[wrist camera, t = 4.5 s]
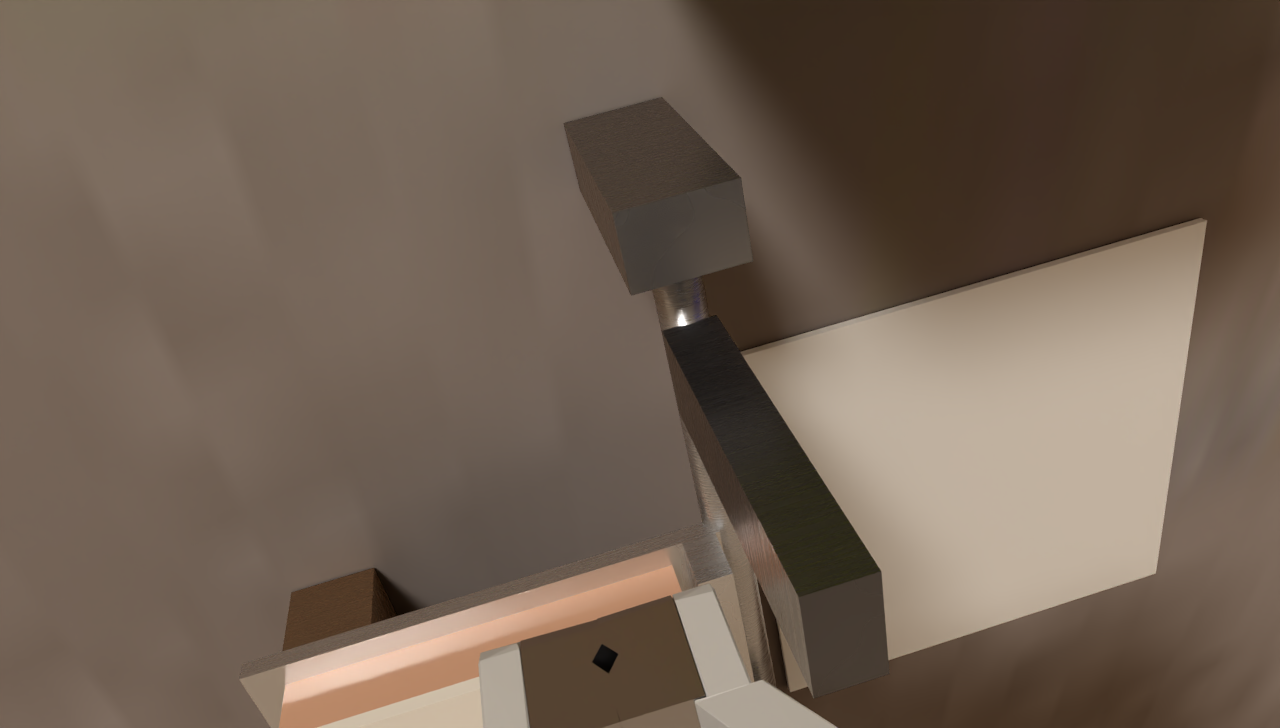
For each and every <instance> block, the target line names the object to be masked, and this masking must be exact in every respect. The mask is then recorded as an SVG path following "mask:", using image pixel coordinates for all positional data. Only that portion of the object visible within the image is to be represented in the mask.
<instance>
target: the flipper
mask: <svg viewBox="0 0 1280 728" xmlns="http://www.w3.org/2000/svg"><path fill="white" fill-rule="evenodd" d="M653 295H654V299H655V304H656V309H657V313H658V318H659V323H660V327H661V332H662V336H663V341H664V346H665V350H666V355H667V360H668V364H669V369H670V374H671V378H672V383H673V388H674V392H675V397H676V402H677V406H678V411H679V416H680V420H681V425H682V430H683V434H684V439H685V444H686V448H687V453H688V458H689V462H690V467H691V472H692V476H693V481H694V486H695V490H696V495H697V499H698V504H699V509H700V513H701V518H702V523H700V524H696V525H693V526H690V527H687V528H683V529H680V530H677V531H674V532H670V533H667V534H664V535H661V536H657V537H654V538H651V539H647V540H644V541H641V542H638V543H634V544H631V545H628V546H625V547H621V548H618V549H615V550H612V551H608V552H605V553H602V554H599V555H595V556H592V557H589V558H585V559H582V560H579V561H576V562H572V563H569V564H566V565H563V566H559V567H556V568H553V569H550V570H546V571H543V572H540V573H536V574H533V575H530V576H527V577H523V578H520V579H517V580H514V581H510V582H507V583H504V584H501V585H497V586H494V587H491V588H488V589H484V590H481V591H478V592H474V593H471V594H468V595H465V596H461V597H458V598H455V599H452V600H448V601H445V602H442V603H439V604H435V605H432V606H429V607H426V608H422V609H419V610H416V611H412V612H409V613H406V614H403V615H399V616H396V617H393V618H390V619H386V620H383V621H380V622H377V623H373V624H370V625H367V626H364V627H360V628H357V629H354V630H350V631H347V632H344V633H341V634H337V635H334V636H331V637H328V638H324V639H321V640H318V641H315V642H311V643H308V644H305V645H301V646H298V647H295V648H292V649H288V650H285V651H282V652H279V653H275V654H272V655H269V656H266V657H262V658H259V659H256V660H253V661H249V662H246V663H243V664H242V668H241V673H240V678H239V680H240V681H241V683H242V684H243V686H244V687H245V689H246V691H247V692H248V694H249V695H250V697H251V698H252V700H253V701H254V703H255V704H256V706H257V707H258V709H259V710H260V712H261V713H262V715H263V716H264V718H265V719H266V721H267V722H268V724H269V726H270V727H271V728H279V724H280V717H281V711H282V704H283V697H284V690H285V685H287V684H290V683H293V682H296V681H300V680H303V679H306V678H309V677H313V676H316V675H319V674H322V673H325V672H329V671H332V670H335V669H338V668H342V667H345V666H348V665H351V664H355V663H358V662H361V661H364V660H367V659H371V658H374V657H377V656H380V655H384V654H387V653H390V652H393V651H397V650H400V649H403V648H406V647H409V646H413V645H416V644H419V643H422V642H426V641H429V640H432V639H435V638H439V637H442V636H445V635H448V634H451V633H455V632H458V631H461V630H464V629H468V628H471V627H474V626H477V625H481V624H484V623H487V622H490V621H493V620H497V619H500V618H503V617H506V616H510V615H513V614H516V613H519V612H522V611H526V610H529V609H532V608H535V607H539V606H542V605H545V604H548V603H552V602H555V601H558V600H561V599H564V598H568V597H571V596H574V595H577V594H581V593H584V592H587V591H590V590H594V589H597V588H600V587H603V586H606V585H610V584H613V583H616V582H619V581H623V580H626V579H629V578H632V577H636V576H639V575H642V574H645V573H648V572H652V571H655V570H658V569H661V568H665V567H668V566H671V565H672V566H673V568H674V571H675V574H676V577H677V579H678V582H679V585H680V588H681V591H682V592H683V591H686V590H689V589H692V588H695V587H698V586H702V585H705V584H708V583H709V584H710V585H711V586H712V587H713V588H714V589H715V592H716V594H717V597H718V599H719V602H720V604H721V607H722V609H723V612H724V614H725V617H726V619H727V622H728V624H729V627H730V629H731V632H732V634H733V637H734V639H735V642H736V644H737V647H738V649H739V652H740V654H741V657H742V659H743V662H744V664H745V667H746V669H747V672H748V674H749V677H750V679H751V682H756V681H759V680H763V679H764V680H765V681H767V682H768V683H770V684H771V685H773V686H774V687H776V682H775V677H774V671H773V666H772V660H771V655H770V649H769V644H768V638H767V632H766V627H765V621H764V616H763V610H762V605H761V599H760V594H759V588H758V582H757V579H758V581H759V584H760V586H761V588H762V590H763V592H764V594H765V596H766V598H767V600H768V603H769V605H770V607H771V609H772V611H773V613H774V615H775V617H776V620H777V622H778V624H779V626H780V628H781V630H782V632H783V634H784V637H785V639H786V641H787V643H788V645H789V647H790V649H791V651H792V654H793V656H794V658H795V660H796V662H797V664H798V666H799V668H800V671H801V673H802V675H803V677H804V679H805V681H806V683H807V685H808V688H809V690H810V692H811V694H812V696H813V698H817V697H820V696H823V695H826V694H829V693H833V692H836V691H839V690H842V689H845V688H848V687H851V686H854V685H857V684H860V683H863V682H866V681H869V680H872V679H875V678H878V677H881V676H885V675H888V674H889V662H888V649H887V636H886V623H885V611H884V598H883V585H882V572H881V570H880V568H879V567H878V565H877V564H876V562H875V561H874V559H873V557H872V556H871V554H870V553H869V551H868V550H867V548H866V547H865V545H864V543H863V542H862V540H861V539H860V537H859V536H858V534H857V533H856V531H855V529H854V528H853V526H852V525H851V523H850V522H849V520H848V519H847V517H846V516H845V514H844V512H843V511H842V509H841V508H840V506H839V505H838V503H837V502H836V500H835V498H834V497H833V495H832V494H831V492H830V491H829V489H828V488H827V486H826V485H825V483H824V481H823V480H822V478H821V477H820V475H819V474H818V472H817V471H816V469H815V467H814V466H813V464H812V463H811V461H810V460H809V458H808V457H807V455H806V453H805V452H804V450H803V449H802V447H801V446H800V444H799V443H798V441H797V440H796V438H795V436H794V435H793V433H792V432H791V430H790V429H789V427H788V426H787V424H786V422H785V421H784V419H783V418H782V416H781V415H780V413H779V412H778V410H777V408H776V407H775V405H774V404H773V402H772V401H771V399H770V398H769V396H768V395H767V393H766V391H765V390H764V388H763V387H762V385H761V384H760V382H759V381H758V379H757V377H756V376H755V374H754V373H753V371H752V370H751V368H750V367H749V365H748V363H747V362H746V360H745V359H744V357H743V356H742V354H741V353H740V351H739V350H738V348H737V346H736V345H735V343H734V342H733V340H732V339H731V337H730V336H729V334H728V332H727V331H726V329H725V328H724V326H723V325H722V323H721V322H720V320H719V318H718V317H717V315H715V316H711V317H710V316H709V310H708V305H707V299H706V294H705V288H704V283H703V277H702V276H699V277H695V278H692V279H688V280H685V281H681V282H678V283H674V284H670V285H667V286H663V287H660V288H656V289H653Z"/></svg>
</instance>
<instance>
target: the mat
mask: <svg viewBox="0 0 1280 728" xmlns="http://www.w3.org/2000/svg"><path fill="white" fill-rule="evenodd" d="M1206 224H1207V220H1205V219H1203V218H1198V219H1195V220H1191V221H1188V222H1185V223H1181V224H1178V225H1174V226H1171V227H1167V228H1164V229H1161V230H1157V231H1154V232H1150V233H1147V234H1143V235H1140V236H1137V237H1133V238H1130V239H1126V240H1123V241H1119V242H1116V243H1112V244H1109V245H1106V246H1102V247H1099V248H1095V249H1092V250H1088V251H1085V252H1082V253H1078V254H1075V255H1071V256H1068V257H1064V258H1061V259H1058V260H1054V261H1051V262H1047V263H1044V264H1040V265H1037V266H1033V267H1030V268H1027V269H1023V270H1020V271H1016V272H1013V273H1009V274H1006V275H1003V276H999V277H996V278H992V279H989V280H985V281H982V282H979V283H975V284H972V285H968V286H965V287H961V288H958V289H954V290H951V291H948V292H944V293H941V294H937V295H934V296H930V297H927V298H924V299H920V300H917V301H913V302H910V303H906V304H903V305H900V306H896V307H893V308H889V309H886V310H882V311H879V312H876V313H872V314H869V315H865V316H862V317H858V318H855V319H851V320H848V321H845V322H841V323H838V324H834V325H831V326H827V327H824V328H821V329H817V330H814V331H810V332H807V333H803V334H800V335H797V336H793V337H790V338H786V339H783V340H779V341H776V342H772V343H769V344H766V345H762V346H759V347H755V348H752V349H748V350H745V351H742V352H740V353H741V354H742V356H743V357H744V359H745V360H746V362H747V363H748V365H749V367H750V368H751V370H752V371H753V373H754V374H755V376H756V377H757V379H758V381H759V382H760V384H761V385H762V387H763V388H764V390H765V391H766V393H767V395H768V396H769V398H770V399H771V401H772V402H773V404H774V405H775V407H776V408H777V410H778V412H779V413H780V415H781V416H782V418H783V419H784V421H785V422H786V424H787V426H788V427H789V429H790V430H791V432H792V433H793V435H794V436H795V438H796V440H797V441H798V443H799V444H800V446H801V447H802V449H803V450H804V452H805V453H806V455H807V457H808V458H809V460H810V461H811V463H812V464H813V466H814V467H815V469H816V471H817V472H818V474H819V475H820V477H821V478H822V480H823V481H824V483H825V485H826V486H827V488H828V489H829V491H830V492H831V494H832V495H833V497H834V498H835V500H836V502H837V503H838V505H839V506H840V508H841V509H842V511H843V512H844V514H845V516H846V517H847V519H848V520H849V522H850V523H851V525H852V526H853V528H854V529H855V531H856V533H857V534H858V536H859V537H860V539H861V540H862V542H863V543H864V545H865V547H866V548H867V550H868V551H869V553H870V554H871V556H872V557H873V559H874V561H875V562H876V564H877V565H878V567H879V568H880V570H881V572H882V585H883V598H884V611H885V623H886V636H887V649H888V660H891V659H894V658H897V657H900V656H903V655H906V654H909V653H913V652H916V651H919V650H922V649H925V648H928V647H931V646H934V645H937V644H940V643H943V642H946V641H949V640H953V639H956V638H959V637H962V636H965V635H968V634H971V633H974V632H977V631H980V630H983V629H986V628H989V627H992V626H996V625H999V624H1002V623H1005V622H1008V621H1011V620H1014V619H1017V618H1020V617H1023V616H1026V615H1029V614H1032V613H1036V612H1039V611H1042V610H1045V609H1048V608H1051V607H1054V606H1057V605H1060V604H1063V603H1066V602H1069V601H1072V600H1075V599H1079V598H1082V597H1085V596H1088V595H1091V594H1094V593H1097V592H1100V591H1103V590H1106V589H1109V588H1112V587H1115V586H1119V585H1122V584H1125V583H1128V582H1131V581H1134V580H1137V579H1140V578H1143V577H1146V576H1149V575H1152V574H1155V573H1156V568H1157V562H1158V555H1159V548H1160V541H1161V534H1162V527H1163V520H1164V513H1165V507H1166V500H1167V493H1168V486H1169V479H1170V472H1171V465H1172V458H1173V451H1174V445H1175V438H1176V431H1177V424H1178V417H1179V410H1180V403H1181V396H1182V390H1183V383H1184V376H1185V369H1186V362H1187V355H1188V348H1189V341H1190V334H1191V328H1192V321H1193V314H1194V307H1195V300H1196V293H1197V286H1198V279H1199V273H1200V266H1201V259H1202V252H1203V245H1204V238H1205V231H1206ZM777 626H778V632H779V638H780V644H781V650H782V656H783V661H784V667H785V673H786V679H787V685H788V689H789V691H790V692H793V691H796V690H799V689H802V688H805V687H808V685H807V683H806V681H805V679H804V677H803V675H802V673H801V671H800V668H799V666H798V664H797V662H796V660H795V658H794V656H793V654H792V651H791V649H790V647H789V645H788V643H787V641H786V639H785V637H784V634H783V632H782V630H781V628H780V626H779V624H778V622H777Z"/></svg>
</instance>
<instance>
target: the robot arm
mask: <svg viewBox="0 0 1280 728" xmlns="http://www.w3.org/2000/svg"><path fill="white" fill-rule="evenodd" d="M478 667H479V680H480V693H481V707H482V720H483V728H838V727H836V726H835V725H833V724H832V723H830V722H829V721H827V720H826V719H824V718H822V717H821V716H819V715H818V714H816V713H815V712H813V711H812V710H810V709H809V708H807V707H805V706H804V705H802V704H801V703H799V702H798V701H796V700H795V699H793V698H791V697H790V696H788V695H787V694H785V693H784V692H782V691H781V690H779V689H778V688H776V687H774V686H773V685H771V684H770V683H768V682H767V681H765V680H764V679H763V680H759V681H756V682H751V679H750V677H749V674H748V672H747V669H746V667H745V664H744V662H743V659H742V657H741V654H740V652H739V649H738V647H737V644H736V642H735V639H734V637H733V634H732V632H731V629H730V627H729V624H728V622H727V619H726V617H725V614H724V612H723V609H722V607H721V604H720V602H719V599H718V597H717V594H716V592H715V589H714V588H713V587H712V586H711V585H710V584H709V583H708V584H705V585H702V586H698V587H695V588H692V589H689V590H686V591H683V592H679V593H676V594H673V595H672V597H671V595H669V596H666V597H663V598H660V599H657V600H654V601H651V602H647V603H644V604H641V605H638V606H635V607H632V608H629V609H625V610H622V611H619V612H616V613H613V614H610V615H607V616H603V617H600V618H597V620H593V621H590V622H586V623H582V624H579V625H575V626H572V627H568V628H565V629H561V630H557V631H554V632H550V633H547V634H543V635H540V636H536V637H532V638H529V639H525V640H522V641H520V642H517V643H514V644H510V645H507V646H503V647H499V648H496V649H492V650H489V651H485V652H482V653H480V658H479V664H478Z"/></svg>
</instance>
